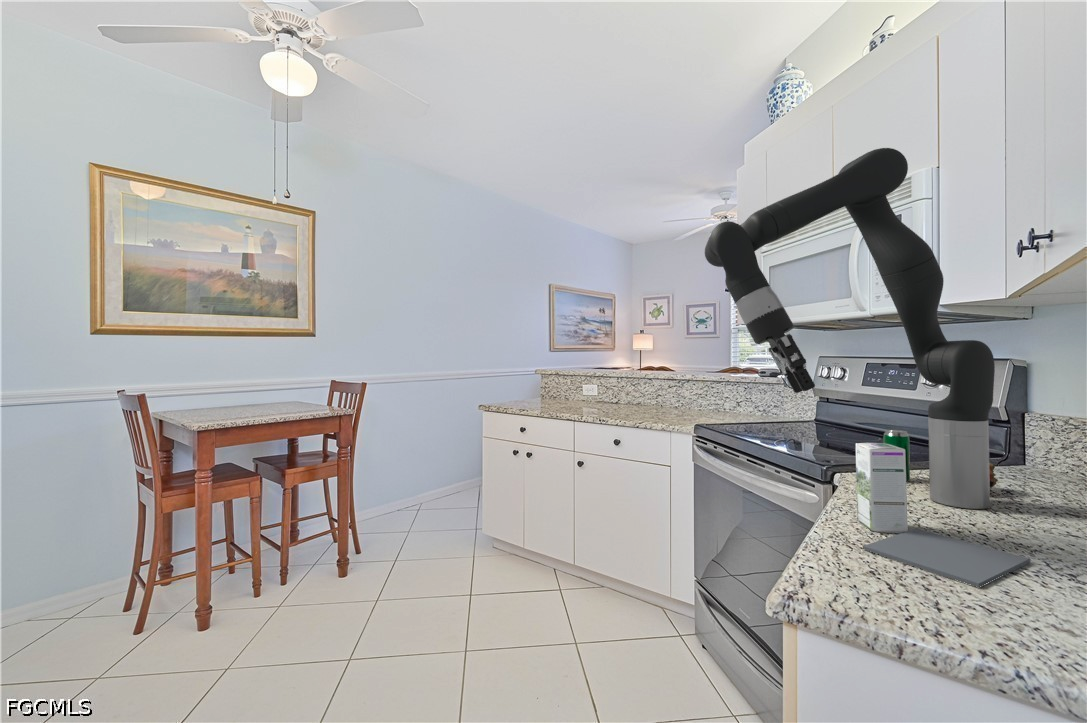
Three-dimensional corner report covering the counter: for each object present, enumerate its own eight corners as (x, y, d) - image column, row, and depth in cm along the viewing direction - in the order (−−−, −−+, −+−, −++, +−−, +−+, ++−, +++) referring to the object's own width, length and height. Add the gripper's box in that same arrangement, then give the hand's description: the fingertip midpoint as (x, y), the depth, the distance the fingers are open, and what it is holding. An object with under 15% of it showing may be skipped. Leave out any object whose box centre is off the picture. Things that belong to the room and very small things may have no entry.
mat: (916, 531, 79) (916, 528, 79) (1030, 562, 67) (1030, 558, 67) (862, 549, 72) (862, 545, 72) (978, 588, 60) (978, 583, 60)
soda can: (915, 482, 111) (914, 432, 111) (894, 482, 111) (893, 432, 111) (899, 477, 116) (898, 429, 116) (879, 477, 116) (878, 429, 116)
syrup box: (909, 534, 78) (908, 448, 79) (870, 531, 80) (869, 447, 80) (891, 522, 84) (890, 442, 84) (855, 520, 85) (854, 441, 85)
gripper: (788, 298, 83) (835, 380, 80) (777, 313, 97) (817, 384, 93) (747, 317, 85) (791, 397, 82) (742, 329, 99) (779, 399, 95)
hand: (805, 390), depth 87 cm, fingers open, 8 cm apart
